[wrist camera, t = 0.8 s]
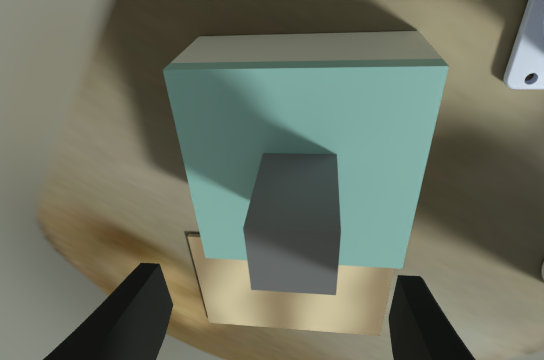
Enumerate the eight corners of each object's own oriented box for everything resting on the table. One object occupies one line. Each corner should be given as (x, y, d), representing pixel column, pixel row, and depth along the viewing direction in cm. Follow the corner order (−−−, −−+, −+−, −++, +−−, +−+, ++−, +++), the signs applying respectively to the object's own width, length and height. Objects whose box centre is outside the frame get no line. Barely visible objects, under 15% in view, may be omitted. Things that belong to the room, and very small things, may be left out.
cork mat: (398, 243, 23) (398, 246, 23) (379, 332, 29) (380, 335, 29) (188, 233, 25) (187, 236, 25) (210, 319, 31) (209, 322, 31)
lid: (436, 52, 13) (502, 128, 8) (396, 245, 19) (422, 357, 14) (177, 56, 15) (101, 125, 10) (213, 236, 20) (177, 337, 15)
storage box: (418, 30, 16) (442, 58, 13) (388, 206, 22) (399, 256, 18) (199, 36, 17) (169, 63, 14) (225, 201, 23) (209, 246, 20)
